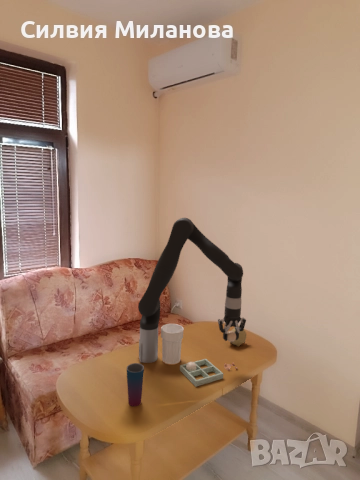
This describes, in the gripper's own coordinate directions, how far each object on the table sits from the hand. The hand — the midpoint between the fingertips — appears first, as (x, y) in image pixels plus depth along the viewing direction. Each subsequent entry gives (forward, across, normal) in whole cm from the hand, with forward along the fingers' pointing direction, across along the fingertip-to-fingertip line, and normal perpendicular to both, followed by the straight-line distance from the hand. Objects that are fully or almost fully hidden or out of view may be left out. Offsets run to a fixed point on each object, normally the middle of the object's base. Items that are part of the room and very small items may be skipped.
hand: (230, 339), depth 154 cm
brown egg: (+1, 0, 0) cm, 1 cm away
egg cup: (+15, +1, 0) cm, 15 cm away
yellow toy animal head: (+15, +14, +23) cm, 31 cm away
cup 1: (+15, -48, -16) cm, 52 cm away
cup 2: (+15, -26, +13) cm, 33 cm away
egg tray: (+15, -15, -3) cm, 22 cm away
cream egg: (+15, -19, 0) cm, 24 cm away
